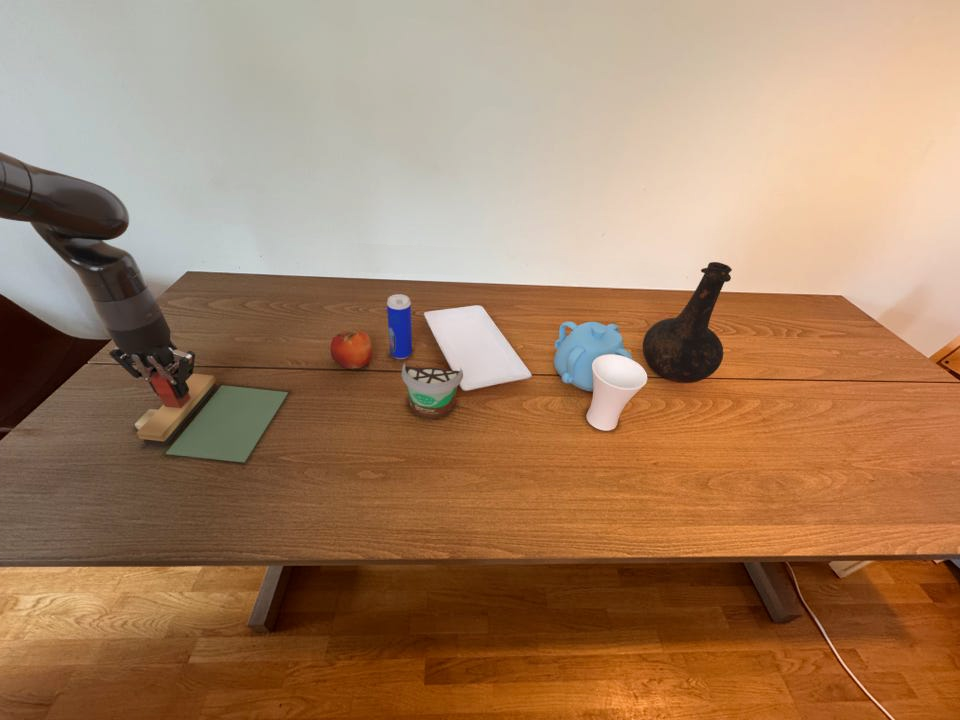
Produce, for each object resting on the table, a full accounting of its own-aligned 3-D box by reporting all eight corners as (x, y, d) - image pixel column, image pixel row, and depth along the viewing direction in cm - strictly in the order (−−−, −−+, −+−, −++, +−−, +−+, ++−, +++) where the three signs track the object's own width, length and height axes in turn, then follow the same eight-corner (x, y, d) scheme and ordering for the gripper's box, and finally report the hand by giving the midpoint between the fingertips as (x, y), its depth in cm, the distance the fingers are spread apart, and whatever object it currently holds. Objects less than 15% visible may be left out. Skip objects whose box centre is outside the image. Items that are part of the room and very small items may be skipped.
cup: (627, 409, 92) (648, 361, 83) (625, 444, 84) (647, 395, 75) (580, 396, 94) (595, 348, 86) (573, 429, 86) (589, 380, 78)
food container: (397, 420, 84) (395, 383, 78) (403, 398, 89) (401, 362, 83) (459, 425, 84) (461, 388, 78) (461, 403, 89) (463, 367, 83)
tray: (480, 313, 117) (481, 303, 115) (531, 386, 95) (534, 375, 93) (421, 322, 112) (421, 311, 110) (461, 402, 90) (462, 390, 87)
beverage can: (388, 348, 102) (385, 294, 93) (410, 345, 103) (408, 292, 94) (392, 361, 98) (388, 306, 89) (413, 358, 100) (412, 304, 90)
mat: (244, 462, 74) (244, 462, 73) (165, 454, 74) (165, 453, 74) (288, 392, 88) (288, 392, 88) (222, 385, 88) (221, 385, 88)
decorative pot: (550, 350, 107) (560, 304, 98) (613, 357, 106) (629, 312, 98) (552, 393, 94) (564, 344, 86) (624, 402, 94) (643, 354, 85)
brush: (167, 447, 74) (143, 407, 68) (143, 444, 74) (117, 404, 68) (218, 386, 87) (202, 348, 80) (197, 384, 87) (179, 345, 80)
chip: (159, 432, 77) (155, 426, 76) (137, 430, 77) (133, 424, 76) (173, 416, 80) (170, 411, 79) (152, 414, 80) (149, 408, 79)
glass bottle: (667, 400, 95) (721, 292, 78) (621, 353, 108) (658, 251, 91) (725, 386, 101) (788, 282, 83) (675, 343, 114) (720, 245, 96)
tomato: (380, 367, 96) (377, 339, 91) (340, 380, 92) (335, 351, 87) (365, 346, 102) (362, 318, 97) (327, 356, 98) (322, 328, 93)
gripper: (190, 307, 69) (222, 384, 80) (107, 298, 70) (150, 376, 80) (160, 333, 64) (199, 413, 74) (68, 323, 64) (121, 404, 74)
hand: (173, 393), depth 77 cm, fingers closed on brush, 3 cm apart
